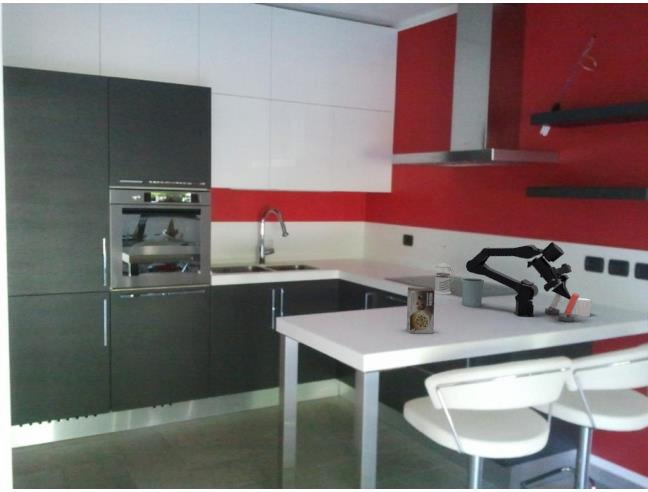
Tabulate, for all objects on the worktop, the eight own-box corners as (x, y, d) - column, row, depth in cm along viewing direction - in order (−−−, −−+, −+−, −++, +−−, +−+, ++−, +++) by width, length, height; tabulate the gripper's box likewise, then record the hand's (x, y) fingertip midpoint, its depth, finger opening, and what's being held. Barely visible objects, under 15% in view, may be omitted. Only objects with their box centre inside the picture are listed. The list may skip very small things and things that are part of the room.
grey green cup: (487, 306, 276) (488, 280, 275) (468, 307, 272) (469, 281, 271) (474, 302, 285) (475, 277, 284) (455, 303, 281) (456, 278, 280)
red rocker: (562, 314, 246) (571, 293, 244) (565, 313, 250) (574, 292, 247) (567, 317, 245) (576, 296, 243) (570, 315, 249) (579, 294, 246)
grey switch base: (543, 313, 262) (543, 305, 261) (547, 311, 267) (547, 303, 266) (557, 315, 258) (557, 307, 258) (561, 313, 263) (561, 305, 263)
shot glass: (570, 313, 264) (571, 298, 263) (582, 313, 266) (583, 297, 265) (582, 316, 257) (583, 300, 257) (594, 316, 260) (595, 300, 259)
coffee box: (429, 329, 226) (431, 287, 225) (433, 333, 220) (435, 290, 218) (405, 329, 226) (407, 286, 225) (408, 333, 220) (410, 289, 218)
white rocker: (549, 308, 261) (558, 288, 258) (552, 306, 264) (561, 287, 262) (553, 310, 260) (562, 290, 257) (556, 308, 263) (565, 289, 261)
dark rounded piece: (556, 321, 247) (557, 312, 247) (560, 318, 252) (561, 310, 252) (571, 323, 244) (572, 314, 243) (575, 320, 249) (576, 312, 248)
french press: (428, 291, 315) (430, 243, 313) (446, 290, 320) (449, 243, 318) (439, 294, 306) (442, 245, 304) (458, 293, 311) (460, 245, 309)
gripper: (553, 259, 240) (581, 289, 235) (565, 255, 255) (591, 284, 250) (532, 276, 246) (558, 306, 240) (545, 271, 261) (570, 300, 256)
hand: (570, 298), depth 247 cm, fingers closed, pressing on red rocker
